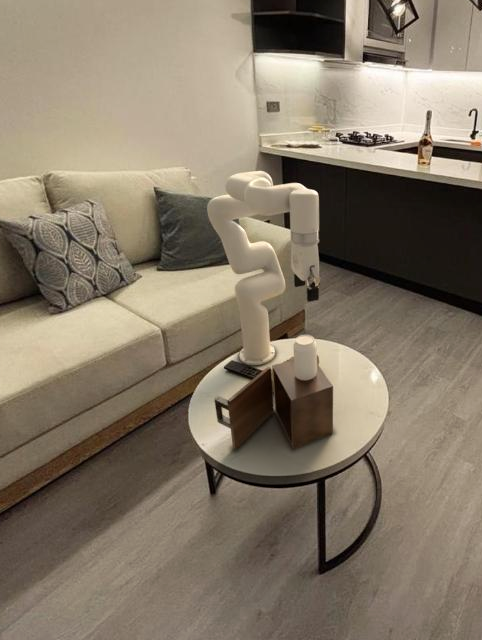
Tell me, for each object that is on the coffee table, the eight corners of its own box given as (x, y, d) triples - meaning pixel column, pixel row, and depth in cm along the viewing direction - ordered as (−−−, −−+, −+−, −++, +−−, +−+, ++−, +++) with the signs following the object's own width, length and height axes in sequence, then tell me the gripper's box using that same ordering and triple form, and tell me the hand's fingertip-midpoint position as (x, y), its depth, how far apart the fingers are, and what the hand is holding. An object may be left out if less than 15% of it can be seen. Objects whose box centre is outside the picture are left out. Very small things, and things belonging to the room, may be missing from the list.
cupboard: (293, 449, 112) (291, 400, 105) (275, 411, 124) (272, 365, 118) (332, 433, 117) (333, 386, 111) (311, 398, 130) (310, 354, 124)
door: (214, 438, 114) (208, 391, 107) (254, 402, 127) (250, 358, 121) (235, 449, 111) (230, 401, 104) (273, 412, 124) (271, 367, 117)
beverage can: (313, 366, 118) (313, 331, 114) (319, 379, 113) (319, 343, 108) (292, 370, 116) (291, 335, 111) (297, 384, 111) (295, 348, 106)
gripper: (280, 228, 114) (283, 283, 120) (303, 249, 100) (305, 309, 106) (306, 224, 117) (307, 278, 124) (331, 244, 103) (331, 303, 110)
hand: (306, 292), depth 115 cm, fingers open, 9 cm apart
